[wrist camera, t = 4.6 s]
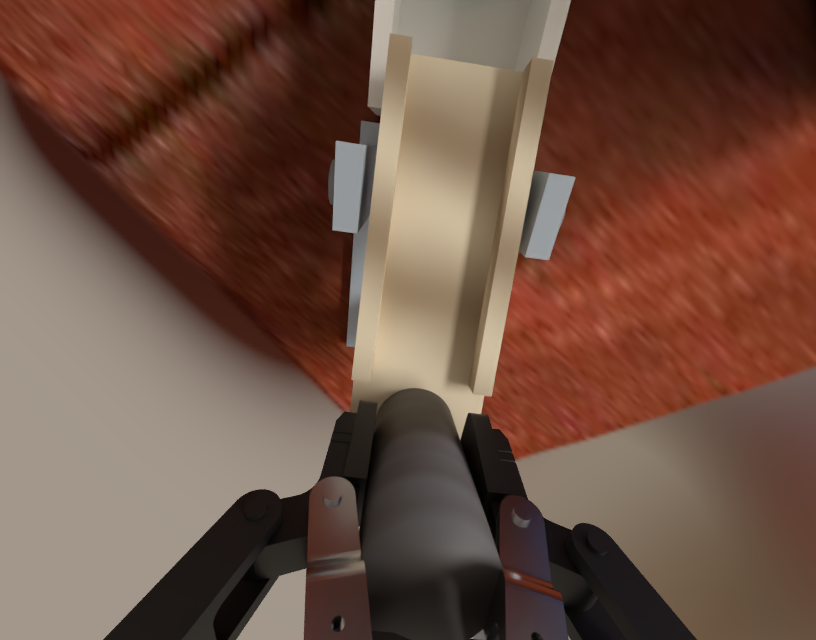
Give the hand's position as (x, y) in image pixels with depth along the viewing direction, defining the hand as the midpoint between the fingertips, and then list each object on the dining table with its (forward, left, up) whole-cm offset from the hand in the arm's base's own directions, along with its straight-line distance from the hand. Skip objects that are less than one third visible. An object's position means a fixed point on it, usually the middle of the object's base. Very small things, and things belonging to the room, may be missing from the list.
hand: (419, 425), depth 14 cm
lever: (-4, 0, -5) cm, 6 cm away
